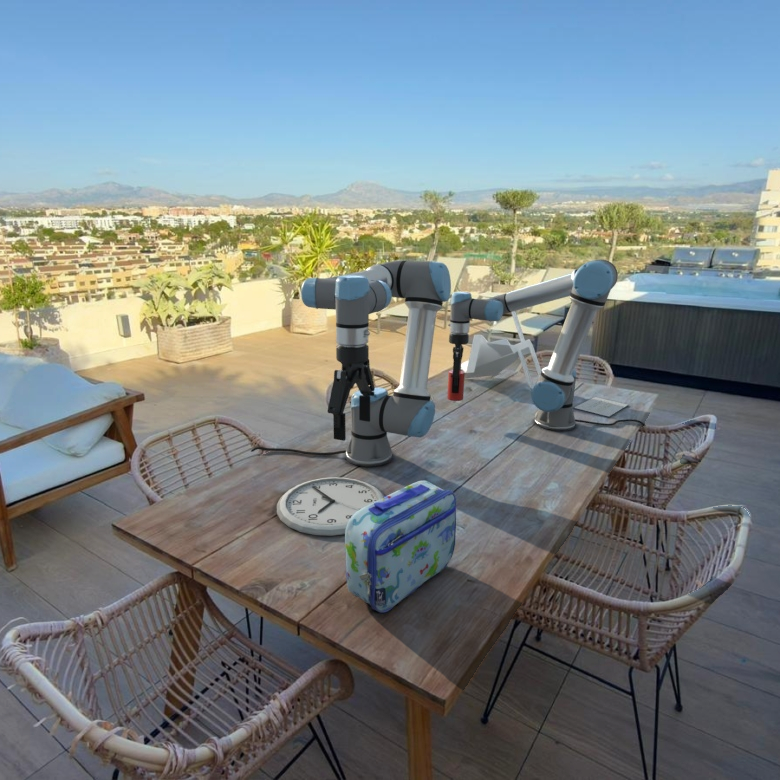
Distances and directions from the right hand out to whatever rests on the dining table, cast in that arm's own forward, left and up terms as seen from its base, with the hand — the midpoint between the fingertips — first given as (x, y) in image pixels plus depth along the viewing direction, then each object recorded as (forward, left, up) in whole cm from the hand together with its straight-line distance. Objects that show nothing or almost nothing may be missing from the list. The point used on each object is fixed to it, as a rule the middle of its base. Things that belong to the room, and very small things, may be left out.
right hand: (455, 390), depth 208 cm
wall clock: (+33, +76, -11) cm, 83 cm away
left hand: (+26, +83, +14) cm, 88 cm away
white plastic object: (-21, -48, -11) cm, 54 cm away
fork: (+12, -11, -11) cm, 20 cm away
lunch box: (+11, +106, -11) cm, 107 cm away
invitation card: (-63, -23, -11) cm, 68 cm away
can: (0, 0, -4) cm, 4 cm away
